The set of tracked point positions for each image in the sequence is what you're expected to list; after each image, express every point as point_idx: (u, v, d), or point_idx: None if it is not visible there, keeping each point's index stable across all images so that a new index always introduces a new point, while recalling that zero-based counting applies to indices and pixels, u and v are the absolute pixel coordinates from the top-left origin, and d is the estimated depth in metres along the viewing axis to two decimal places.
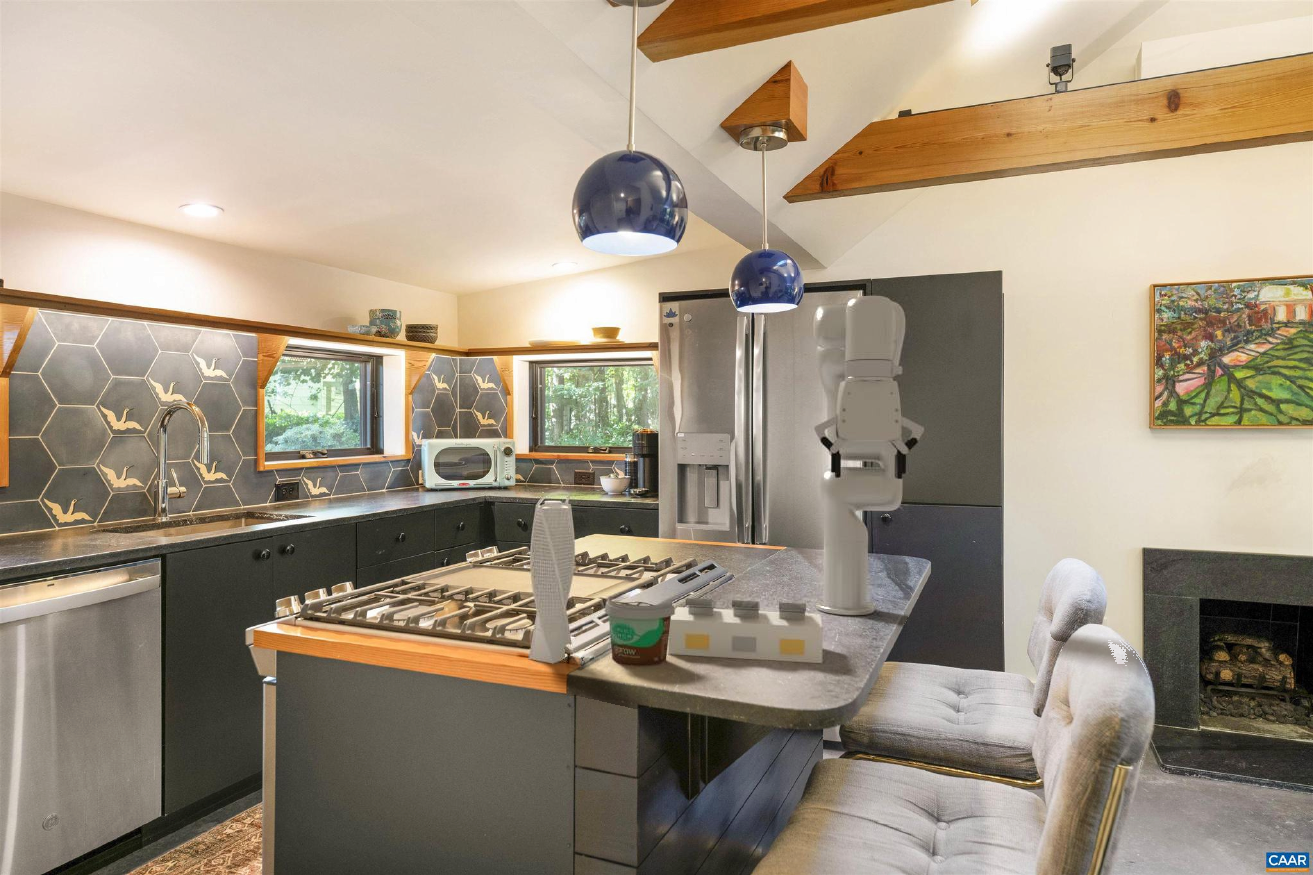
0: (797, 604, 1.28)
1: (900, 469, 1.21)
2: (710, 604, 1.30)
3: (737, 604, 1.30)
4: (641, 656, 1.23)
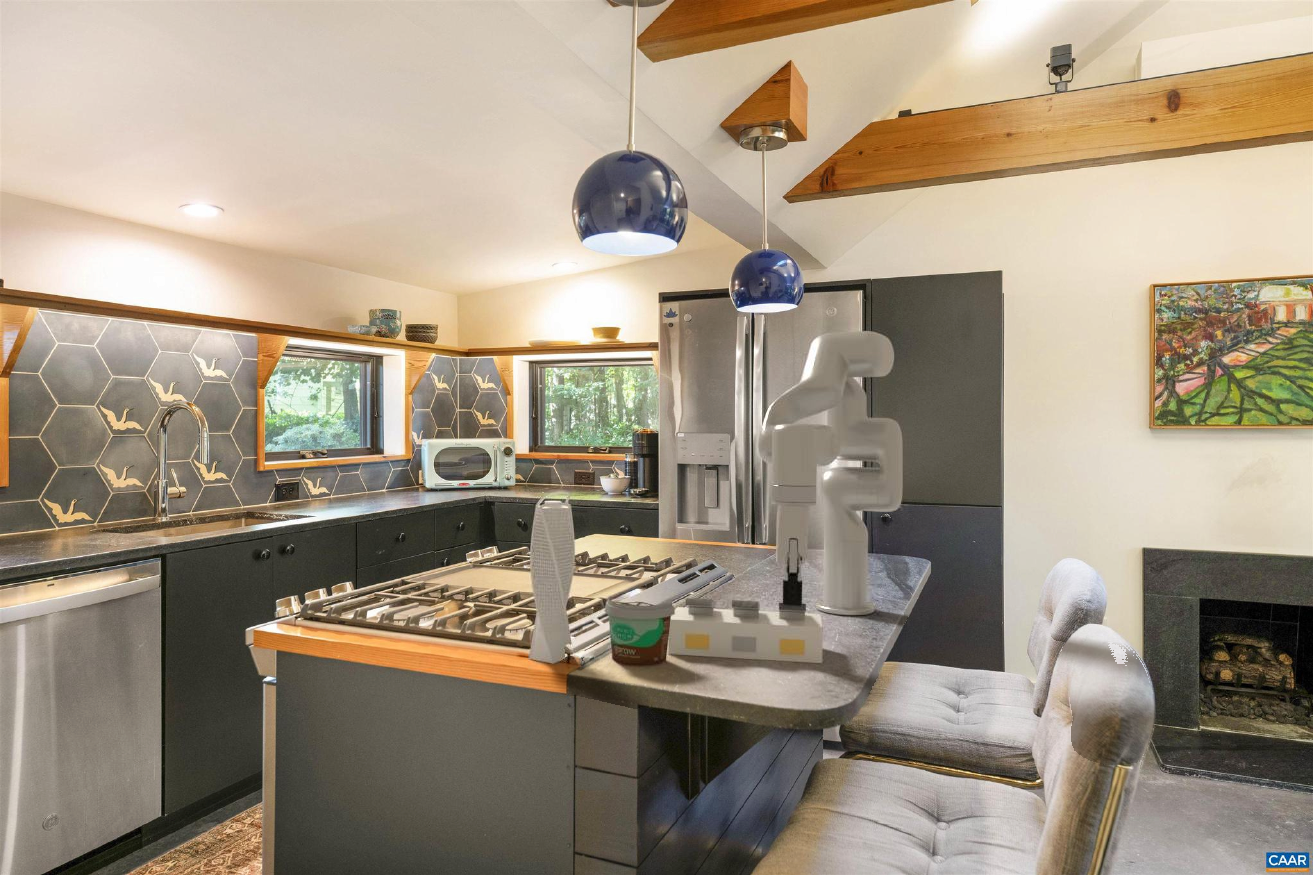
0: None
1: None
2: (710, 604, 1.30)
3: (737, 604, 1.30)
4: (641, 656, 1.23)
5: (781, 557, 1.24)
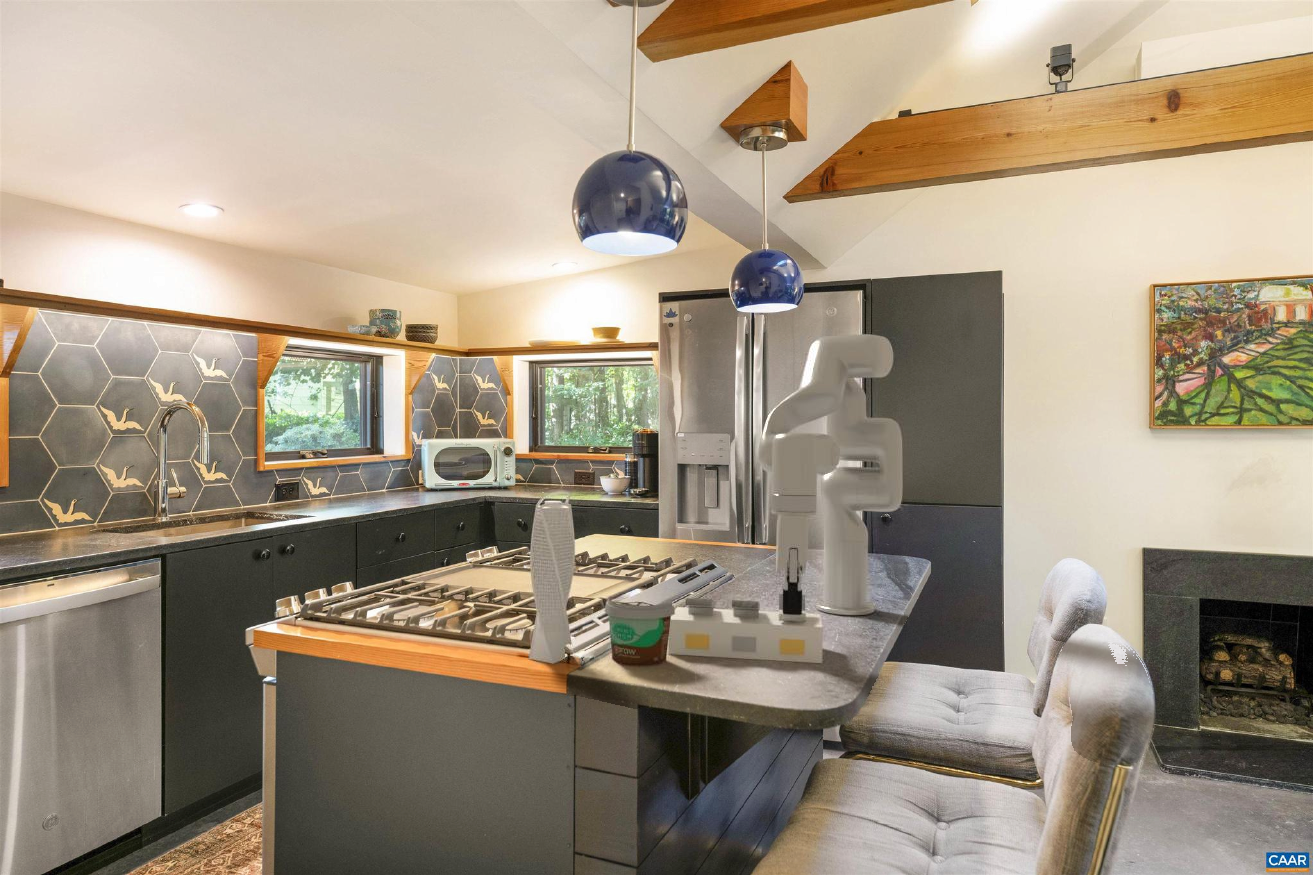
0: (797, 615, 1.28)
1: None
2: (710, 604, 1.30)
3: (737, 604, 1.30)
4: (641, 656, 1.23)
5: (781, 567, 1.24)
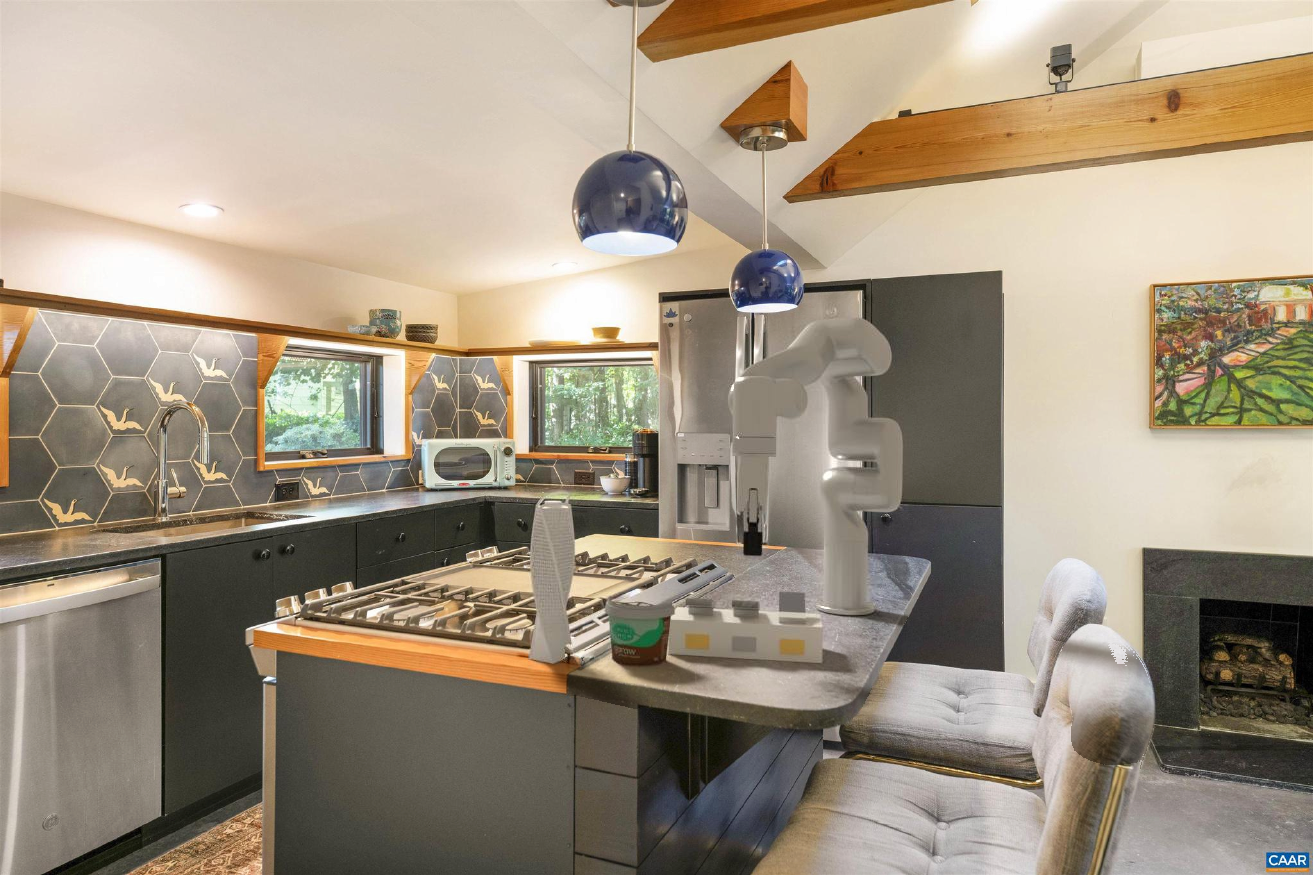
0: (797, 618, 1.28)
1: None
2: (710, 604, 1.30)
3: (737, 604, 1.30)
4: (641, 656, 1.23)
5: (741, 507, 1.25)
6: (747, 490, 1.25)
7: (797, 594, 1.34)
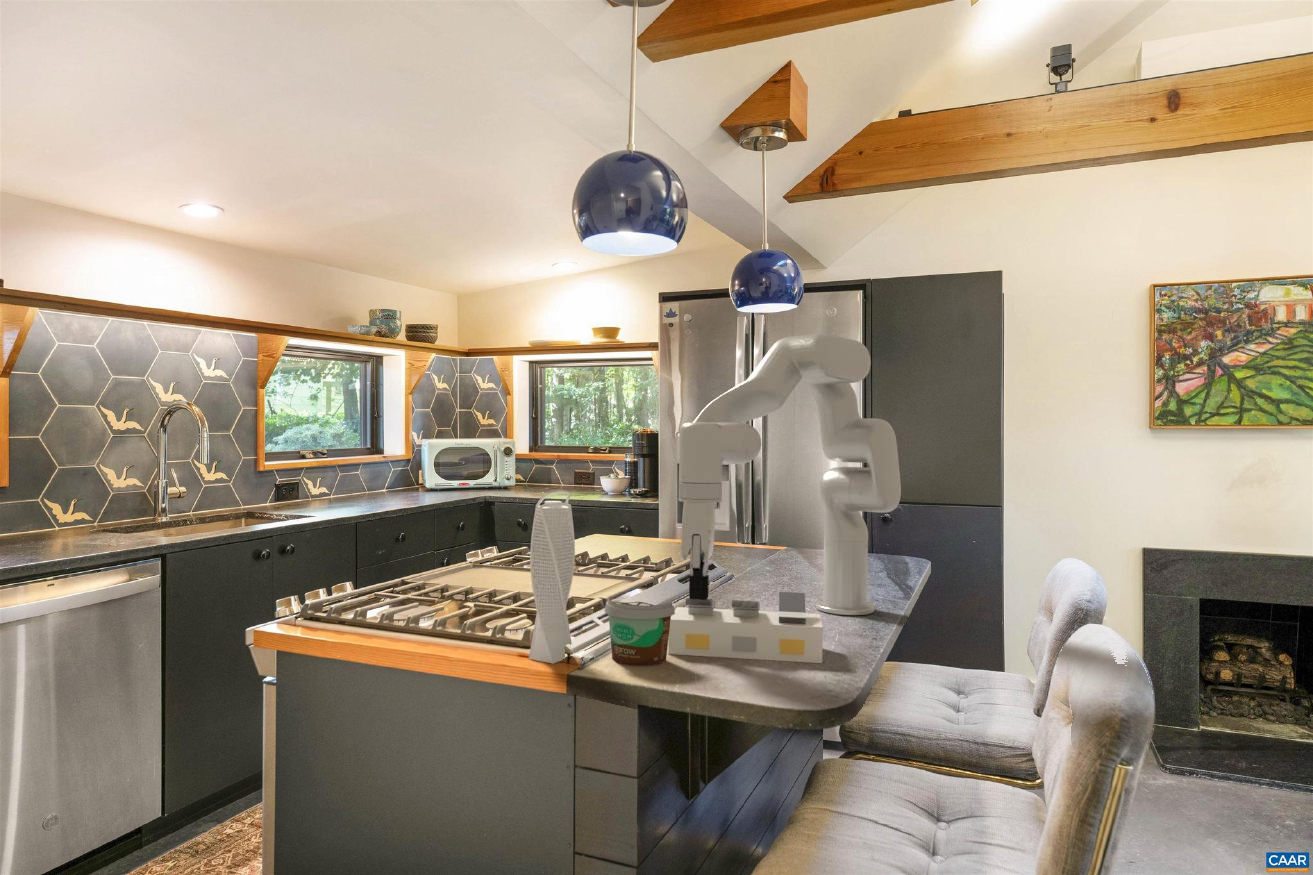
0: (797, 618, 1.28)
1: (708, 589, 1.31)
2: (710, 604, 1.30)
3: (737, 604, 1.30)
4: (641, 656, 1.23)
5: (684, 553, 1.27)
6: (690, 536, 1.27)
7: (797, 594, 1.34)
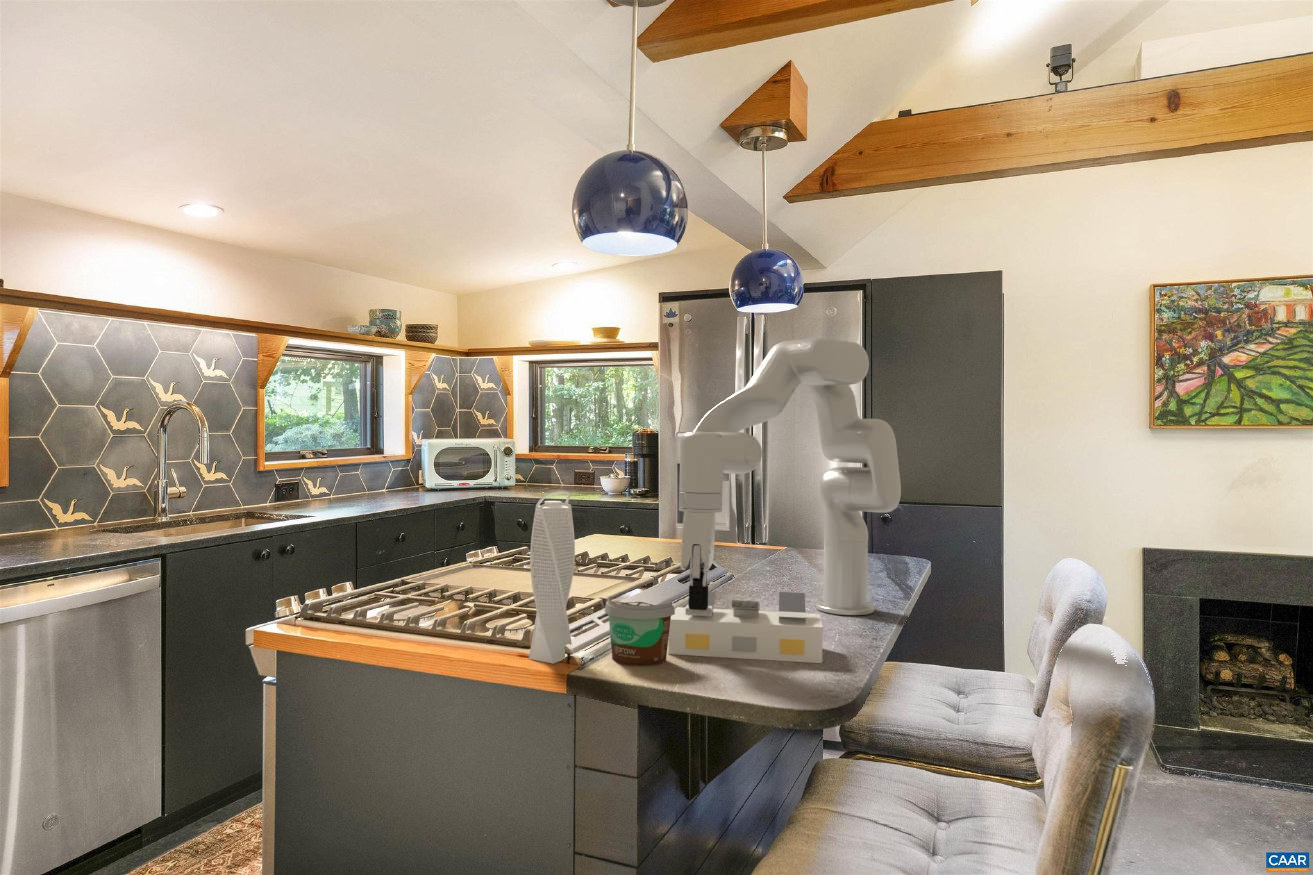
0: (797, 618, 1.28)
1: None
2: (710, 614, 1.30)
3: (737, 604, 1.30)
4: (641, 656, 1.23)
5: (684, 563, 1.26)
6: (690, 546, 1.26)
7: (797, 595, 1.34)
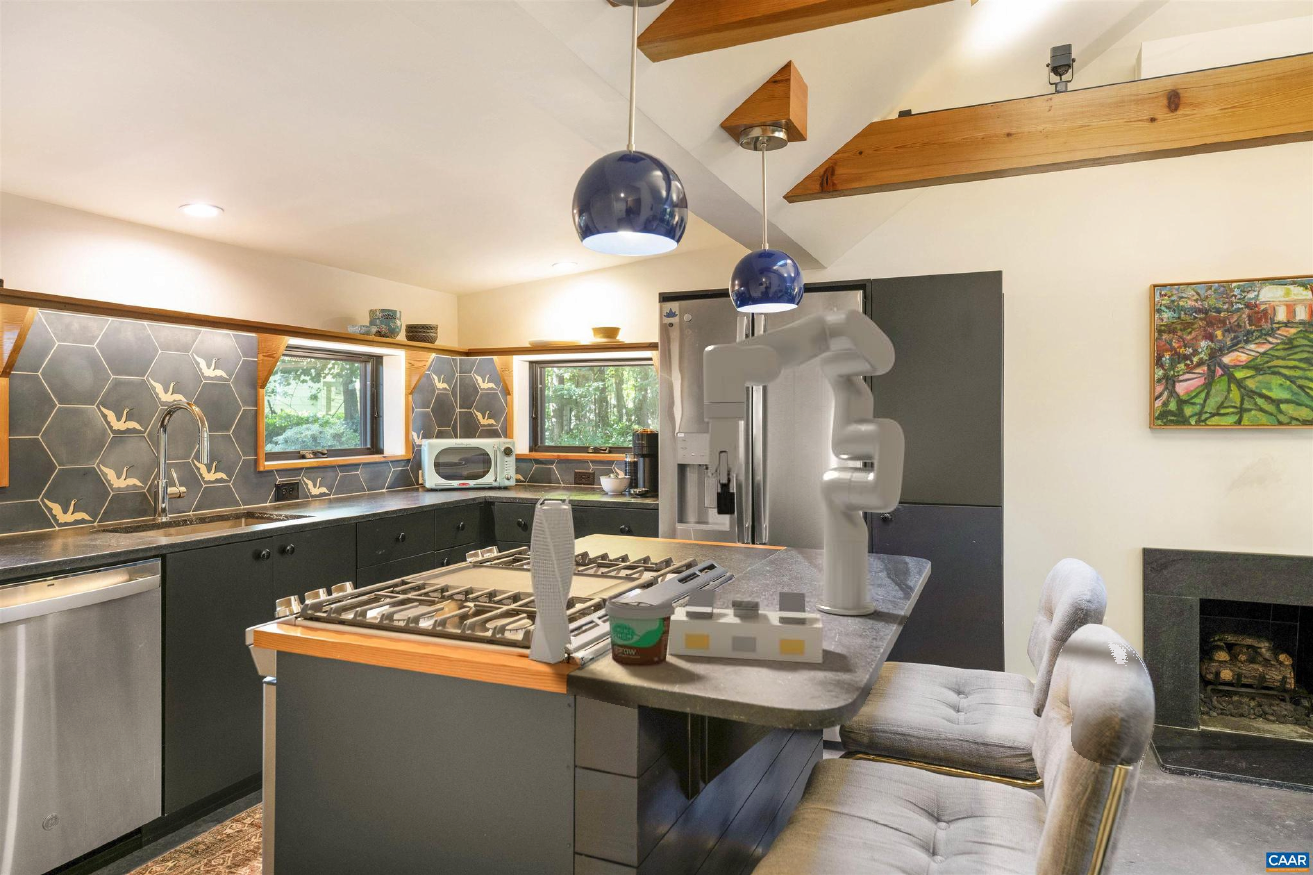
0: (797, 618, 1.28)
1: None
2: (710, 616, 1.30)
3: (737, 604, 1.30)
4: (641, 656, 1.23)
5: (712, 469, 1.32)
6: (717, 453, 1.32)
7: (797, 595, 1.34)
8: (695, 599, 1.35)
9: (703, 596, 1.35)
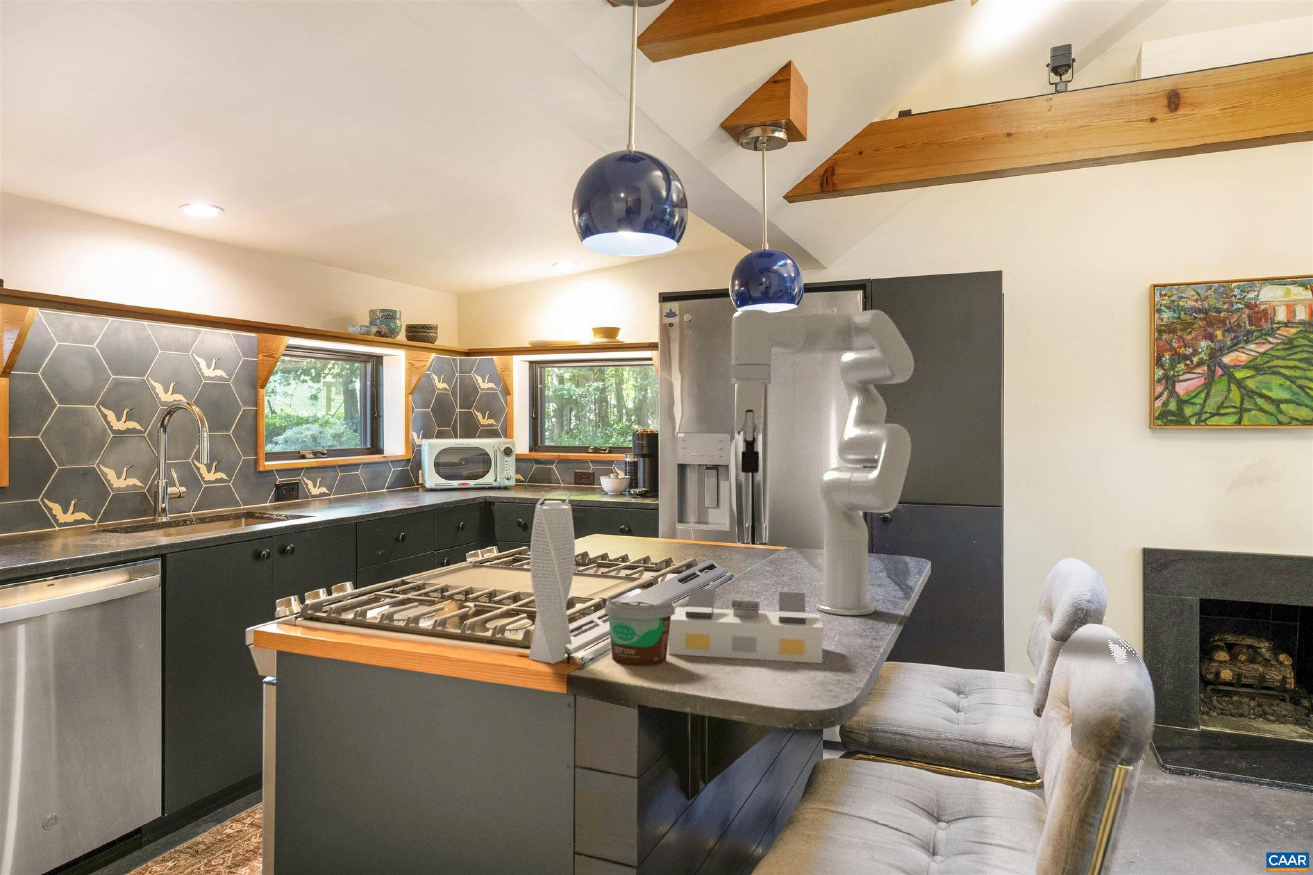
0: (797, 618, 1.28)
1: None
2: (710, 617, 1.31)
3: (737, 604, 1.30)
4: (641, 656, 1.23)
5: (738, 427, 1.39)
6: (744, 411, 1.38)
7: (797, 595, 1.34)
8: (695, 599, 1.35)
9: (703, 596, 1.35)
